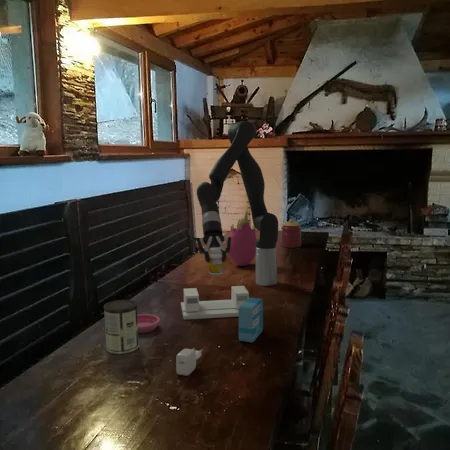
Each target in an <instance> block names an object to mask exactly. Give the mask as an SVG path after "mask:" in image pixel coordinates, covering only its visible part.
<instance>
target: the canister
mask: <svg viewBox="0 0 450 450" xmlns="http://www.w3.org/2000/svg"><path fill="white" fill-rule="evenodd" d="M280 232H281V233H280V246H281V247H282V248H289V249H290V248H291V249H293V248H300V247H301V246H302V227H301V224H300V223H299V222H297V221H294V219H293V218H290V219H289V221H285V222H283V223H282V226H281V231H280Z"/></svg>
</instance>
